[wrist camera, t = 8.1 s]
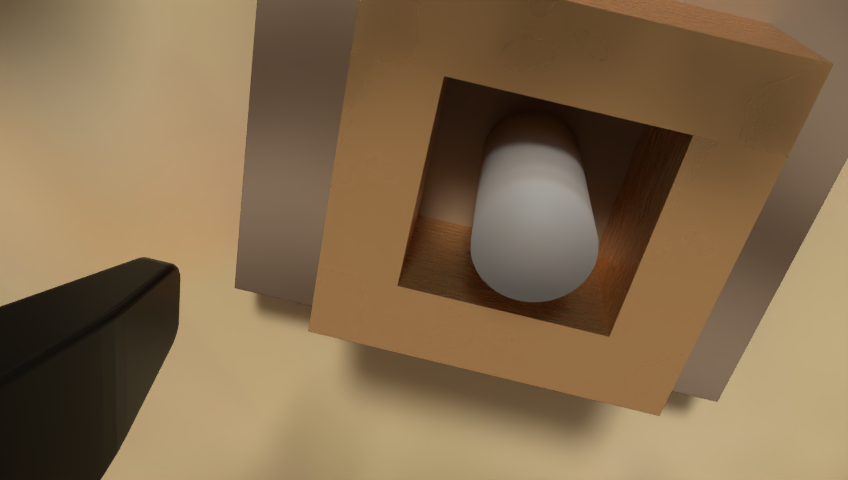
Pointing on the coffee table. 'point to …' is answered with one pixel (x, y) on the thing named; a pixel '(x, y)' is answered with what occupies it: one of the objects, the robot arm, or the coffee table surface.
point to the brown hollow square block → (634, 206)
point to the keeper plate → (453, 180)
